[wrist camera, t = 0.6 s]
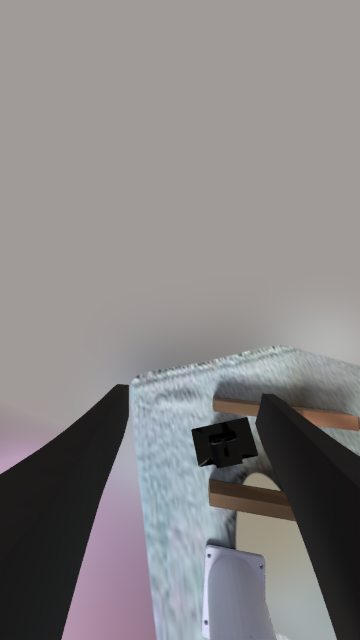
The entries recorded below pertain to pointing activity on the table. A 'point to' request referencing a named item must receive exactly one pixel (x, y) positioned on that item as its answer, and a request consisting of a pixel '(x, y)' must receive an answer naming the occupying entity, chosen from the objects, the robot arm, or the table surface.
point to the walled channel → (262, 498)
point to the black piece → (224, 443)
